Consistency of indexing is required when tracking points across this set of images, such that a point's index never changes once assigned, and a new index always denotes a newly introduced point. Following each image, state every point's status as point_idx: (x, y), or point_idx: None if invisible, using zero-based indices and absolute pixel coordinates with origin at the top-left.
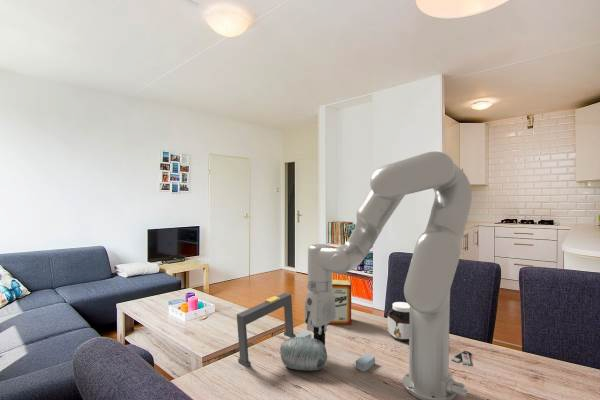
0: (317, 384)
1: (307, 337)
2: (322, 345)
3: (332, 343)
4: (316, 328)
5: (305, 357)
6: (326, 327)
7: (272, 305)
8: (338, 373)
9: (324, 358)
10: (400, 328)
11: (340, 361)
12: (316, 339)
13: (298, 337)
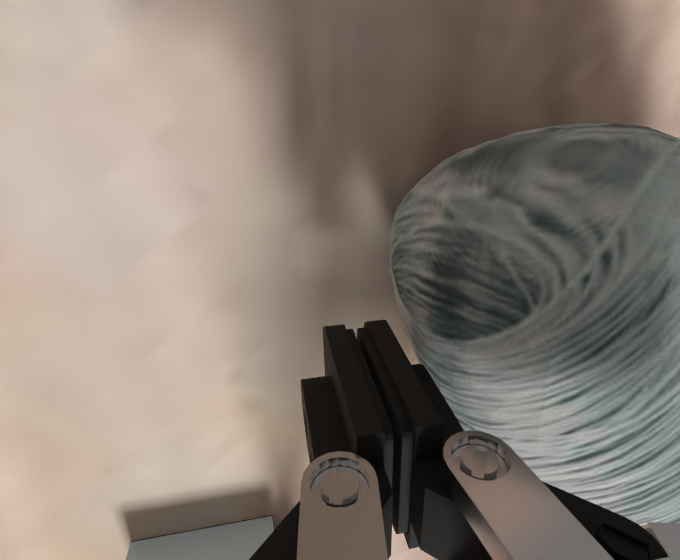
0: (649, 45)
1: (596, 472)
2: (646, 213)
3: (8, 417)
4: (626, 550)
5: None
6: (308, 530)
7: None
8: (406, 7)
9: (572, 126)
10: None
11: (209, 142)
12: (575, 377)
13: (672, 513)
